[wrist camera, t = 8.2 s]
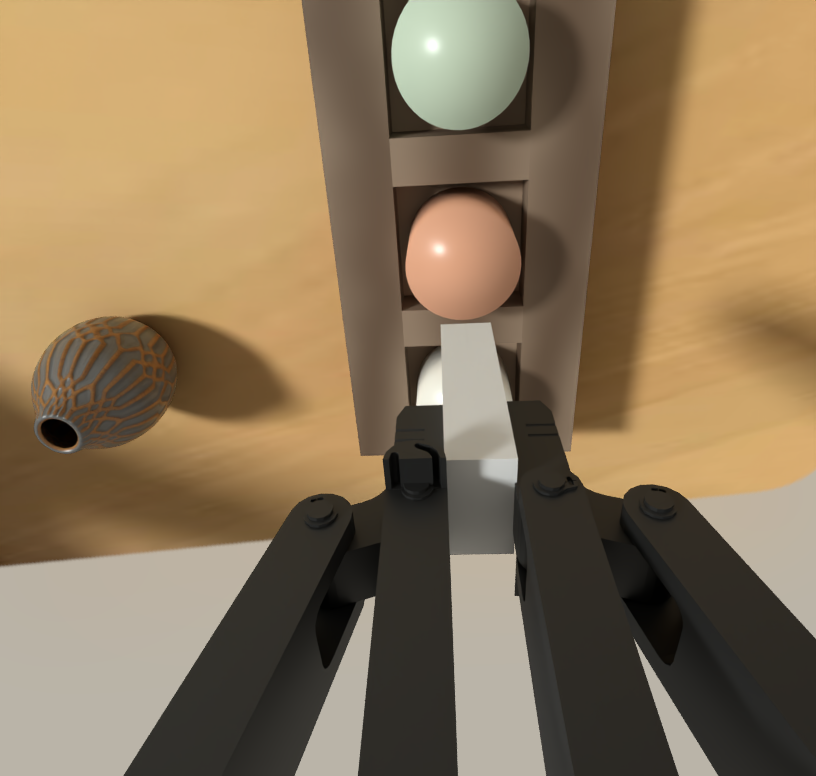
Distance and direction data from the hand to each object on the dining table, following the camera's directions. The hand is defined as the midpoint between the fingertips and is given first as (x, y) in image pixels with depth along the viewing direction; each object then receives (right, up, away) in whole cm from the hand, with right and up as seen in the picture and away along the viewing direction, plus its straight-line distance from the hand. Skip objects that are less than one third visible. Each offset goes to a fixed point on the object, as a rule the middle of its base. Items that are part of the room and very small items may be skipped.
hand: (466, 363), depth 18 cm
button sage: (0, +13, +7) cm, 15 cm away
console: (+1, +8, +13) cm, 15 cm away
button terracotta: (+1, +7, +11) cm, 13 cm away
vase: (-19, +2, +18) cm, 26 cm away
